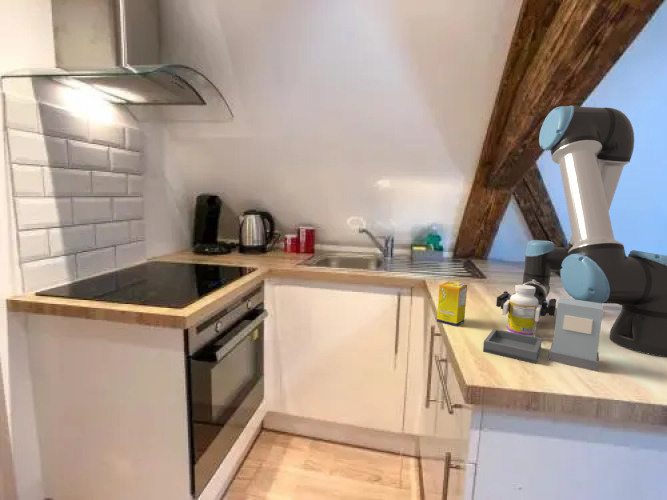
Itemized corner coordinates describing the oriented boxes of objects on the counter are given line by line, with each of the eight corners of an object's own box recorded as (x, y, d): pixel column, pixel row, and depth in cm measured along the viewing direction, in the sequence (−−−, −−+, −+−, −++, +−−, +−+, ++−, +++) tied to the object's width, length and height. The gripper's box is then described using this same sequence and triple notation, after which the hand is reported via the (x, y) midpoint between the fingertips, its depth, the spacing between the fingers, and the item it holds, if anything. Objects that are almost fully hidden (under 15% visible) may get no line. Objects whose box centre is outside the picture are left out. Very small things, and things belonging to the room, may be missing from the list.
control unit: (597, 360, 86) (604, 303, 84) (597, 371, 80) (606, 310, 78) (550, 350, 90) (557, 296, 89) (548, 360, 85) (555, 302, 83)
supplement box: (444, 317, 114) (447, 280, 112) (464, 321, 110) (467, 284, 109) (436, 321, 109) (438, 283, 108) (456, 326, 105) (459, 287, 104)
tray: (540, 348, 91) (542, 338, 91) (535, 363, 82) (537, 352, 82) (492, 338, 97) (493, 328, 97) (483, 351, 88) (484, 341, 88)
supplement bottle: (512, 328, 105) (517, 282, 104) (538, 335, 101) (544, 287, 99) (502, 333, 101) (507, 285, 99) (528, 341, 96) (534, 290, 94)
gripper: (497, 278, 119) (480, 291, 100) (571, 288, 109) (568, 305, 90) (495, 301, 120) (478, 319, 101) (568, 313, 110) (564, 336, 91)
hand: (520, 312), depth 96 cm, fingers closed on supplement bottle, 7 cm apart
